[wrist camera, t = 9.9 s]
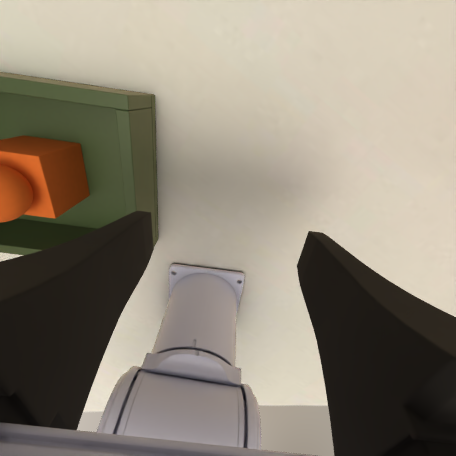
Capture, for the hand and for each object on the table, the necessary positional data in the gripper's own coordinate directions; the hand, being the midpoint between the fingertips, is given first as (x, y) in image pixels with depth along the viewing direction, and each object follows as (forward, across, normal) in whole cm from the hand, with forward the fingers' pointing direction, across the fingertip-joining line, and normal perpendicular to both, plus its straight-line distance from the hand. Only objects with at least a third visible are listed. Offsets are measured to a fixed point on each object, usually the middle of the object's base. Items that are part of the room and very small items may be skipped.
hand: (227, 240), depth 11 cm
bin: (+10, +14, +1) cm, 18 cm away
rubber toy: (+9, +14, +1) cm, 17 cm away
